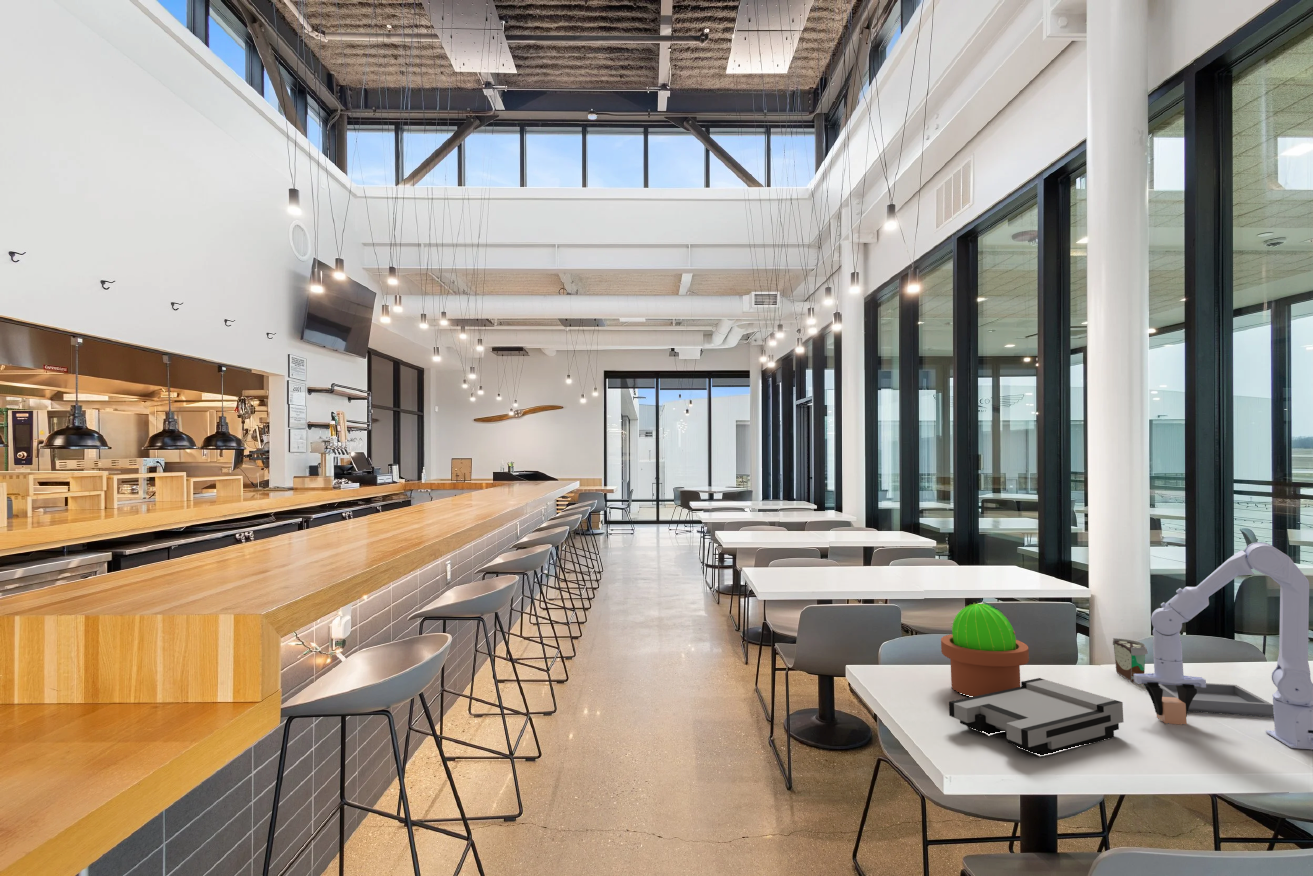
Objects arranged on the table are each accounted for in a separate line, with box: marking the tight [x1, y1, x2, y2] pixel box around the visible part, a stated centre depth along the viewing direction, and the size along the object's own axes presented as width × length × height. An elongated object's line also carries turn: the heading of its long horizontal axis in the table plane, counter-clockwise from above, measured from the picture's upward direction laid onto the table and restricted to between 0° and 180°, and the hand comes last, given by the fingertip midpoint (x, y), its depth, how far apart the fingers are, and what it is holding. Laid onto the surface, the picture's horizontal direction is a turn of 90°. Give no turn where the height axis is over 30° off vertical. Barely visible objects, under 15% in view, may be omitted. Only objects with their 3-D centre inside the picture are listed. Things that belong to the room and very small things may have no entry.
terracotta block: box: [1155, 697, 1188, 726], centre depth 165 cm, size 4×4×5 cm
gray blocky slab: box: [948, 677, 1124, 755], centre depth 159 cm, size 21×32×8 cm, turn 114°
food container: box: [1112, 637, 1148, 683], centre depth 199 cm, size 12×6×10 cm, turn 168°
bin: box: [1159, 682, 1274, 718], centre depth 176 cm, size 16×20×3 cm
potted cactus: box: [940, 601, 1030, 697], centre depth 189 cm, size 22×22×25 cm
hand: (1171, 714), depth 165 cm, fingers closed on terracotta block, 4 cm apart
